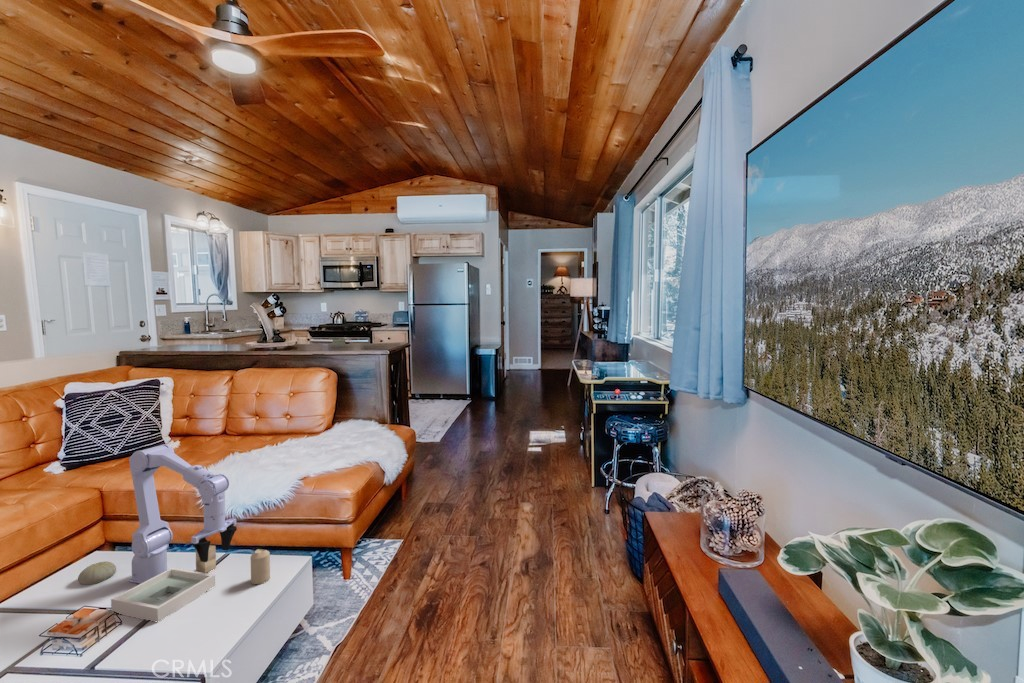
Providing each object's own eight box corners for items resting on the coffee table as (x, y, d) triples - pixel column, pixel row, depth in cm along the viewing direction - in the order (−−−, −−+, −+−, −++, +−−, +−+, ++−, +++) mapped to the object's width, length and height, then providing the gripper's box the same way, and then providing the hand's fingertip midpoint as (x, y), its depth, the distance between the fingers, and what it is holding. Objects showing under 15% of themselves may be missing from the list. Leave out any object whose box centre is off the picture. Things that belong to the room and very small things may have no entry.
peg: (196, 573, 151) (195, 549, 151) (206, 567, 155) (206, 544, 155) (205, 574, 150) (204, 551, 150) (216, 568, 154) (215, 545, 154)
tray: (111, 612, 130) (111, 599, 130) (172, 579, 147) (172, 567, 147) (157, 622, 125) (157, 608, 125) (215, 587, 143) (215, 574, 143)
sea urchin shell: (123, 569, 150) (101, 560, 145) (102, 593, 146) (78, 585, 141) (114, 562, 155) (92, 553, 150) (93, 585, 151) (69, 577, 146)
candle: (273, 575, 149) (273, 546, 149) (263, 585, 144) (262, 554, 143) (258, 575, 150) (257, 545, 149) (247, 584, 144) (246, 554, 144)
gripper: (203, 525, 135) (203, 568, 136) (243, 506, 149) (243, 546, 150) (185, 522, 137) (186, 565, 138) (226, 504, 151) (227, 543, 152)
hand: (215, 555), depth 144 cm, fingers open, 7 cm apart
